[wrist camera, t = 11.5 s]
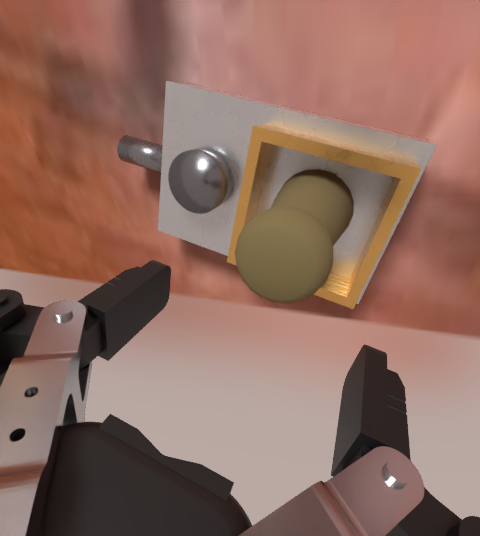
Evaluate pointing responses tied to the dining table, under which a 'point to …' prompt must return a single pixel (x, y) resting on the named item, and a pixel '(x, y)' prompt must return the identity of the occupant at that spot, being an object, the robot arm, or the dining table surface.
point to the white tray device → (275, 174)
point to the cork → (295, 237)
